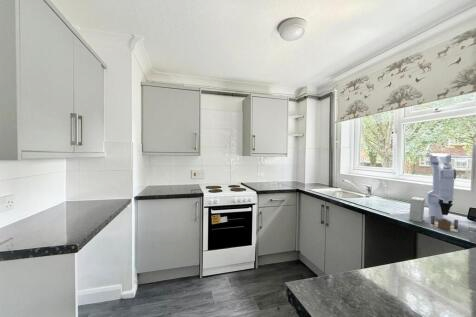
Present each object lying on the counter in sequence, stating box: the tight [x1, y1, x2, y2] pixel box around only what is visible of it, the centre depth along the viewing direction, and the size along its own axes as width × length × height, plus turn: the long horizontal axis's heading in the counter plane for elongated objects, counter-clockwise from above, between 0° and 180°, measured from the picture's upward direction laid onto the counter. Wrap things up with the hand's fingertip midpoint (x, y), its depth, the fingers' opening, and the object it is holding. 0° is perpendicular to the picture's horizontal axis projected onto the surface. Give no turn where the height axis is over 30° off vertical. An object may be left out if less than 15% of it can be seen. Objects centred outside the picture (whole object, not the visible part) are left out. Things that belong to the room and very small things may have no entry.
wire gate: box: [430, 216, 459, 230], centre depth 120 cm, size 3×11×5 cm, turn 44°
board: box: [430, 220, 459, 233], centre depth 120 cm, size 15×11×1 cm
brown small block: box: [437, 218, 452, 231], centre depth 116 cm, size 5×5×4 cm
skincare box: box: [408, 196, 426, 223], centre depth 131 cm, size 8×6×15 cm
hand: (444, 213), depth 116 cm, fingers open, 7 cm apart
